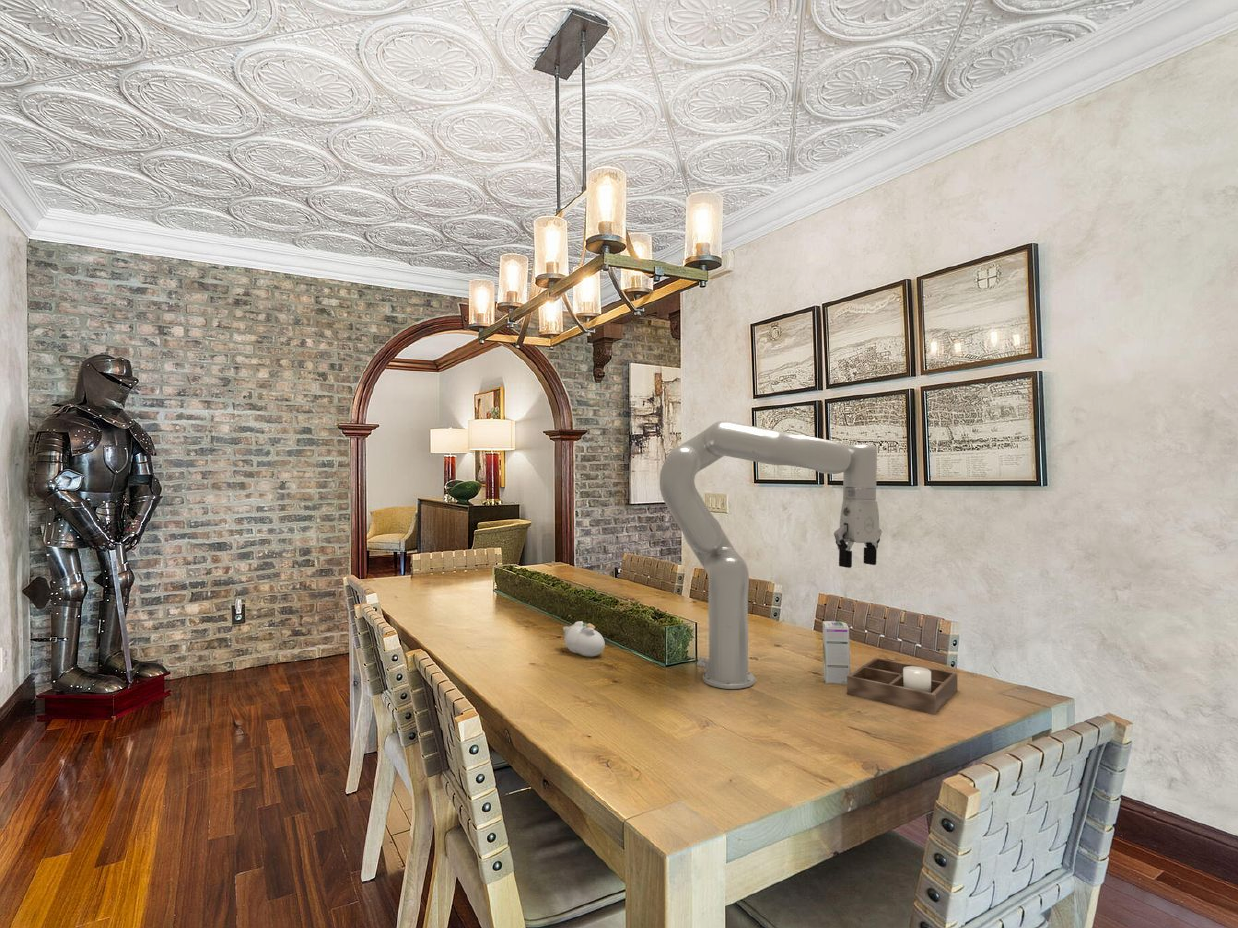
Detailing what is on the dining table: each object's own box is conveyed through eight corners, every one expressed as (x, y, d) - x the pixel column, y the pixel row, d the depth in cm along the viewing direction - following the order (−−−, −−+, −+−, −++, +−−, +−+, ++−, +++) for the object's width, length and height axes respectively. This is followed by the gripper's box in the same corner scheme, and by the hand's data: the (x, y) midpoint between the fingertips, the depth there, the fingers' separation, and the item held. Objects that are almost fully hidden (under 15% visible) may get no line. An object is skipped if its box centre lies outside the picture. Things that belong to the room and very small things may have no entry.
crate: (847, 698, 144) (847, 676, 144) (875, 677, 158) (875, 657, 158) (935, 719, 132) (934, 694, 132) (957, 694, 146) (957, 672, 146)
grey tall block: (851, 688, 150) (850, 627, 150) (825, 686, 152) (824, 625, 152) (847, 680, 156) (847, 621, 156) (822, 678, 157) (821, 620, 157)
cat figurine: (606, 624, 176) (568, 610, 186) (587, 644, 171) (550, 628, 181) (615, 649, 180) (578, 634, 190) (598, 669, 175) (560, 652, 185)
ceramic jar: (900, 702, 138) (899, 670, 138) (908, 695, 142) (907, 664, 142) (927, 709, 135) (926, 675, 135) (934, 701, 139) (934, 669, 139)
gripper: (850, 496, 147) (849, 570, 147) (894, 495, 156) (892, 565, 156) (823, 494, 153) (822, 565, 153) (867, 494, 163) (865, 561, 162)
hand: (857, 565), depth 155 cm, fingers open, 9 cm apart
